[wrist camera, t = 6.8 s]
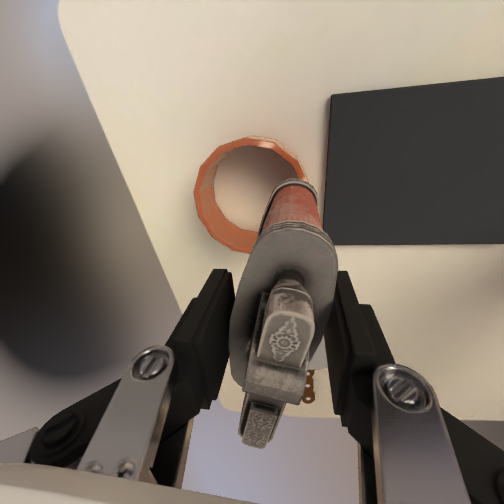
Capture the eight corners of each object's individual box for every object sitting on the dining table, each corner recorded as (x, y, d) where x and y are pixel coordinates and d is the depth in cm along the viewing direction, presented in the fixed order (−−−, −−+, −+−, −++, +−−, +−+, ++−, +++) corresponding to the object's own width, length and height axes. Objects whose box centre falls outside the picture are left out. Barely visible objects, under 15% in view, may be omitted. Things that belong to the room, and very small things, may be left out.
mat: (575, 70, 20) (586, 68, 20) (500, 241, 28) (505, 244, 27) (330, 95, 23) (332, 94, 23) (321, 242, 31) (322, 245, 30)
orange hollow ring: (308, 131, 25) (312, 132, 21) (305, 236, 31) (307, 254, 26) (201, 139, 27) (184, 142, 23) (216, 237, 32) (205, 254, 28)
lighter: (269, 173, 13) (221, 262, 5) (329, 184, 13) (398, 301, 4) (248, 286, 17) (200, 451, 9) (294, 297, 17) (294, 476, 8)
